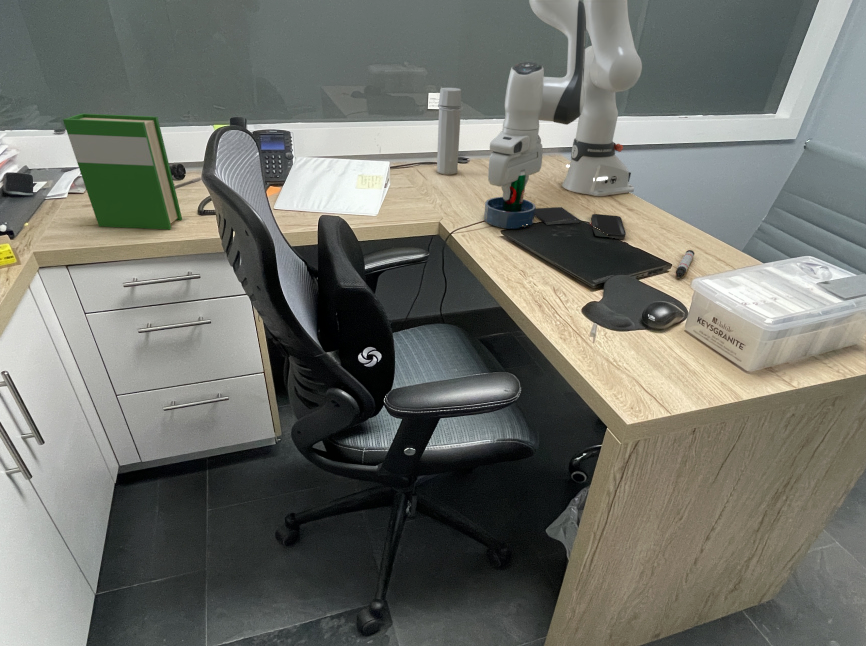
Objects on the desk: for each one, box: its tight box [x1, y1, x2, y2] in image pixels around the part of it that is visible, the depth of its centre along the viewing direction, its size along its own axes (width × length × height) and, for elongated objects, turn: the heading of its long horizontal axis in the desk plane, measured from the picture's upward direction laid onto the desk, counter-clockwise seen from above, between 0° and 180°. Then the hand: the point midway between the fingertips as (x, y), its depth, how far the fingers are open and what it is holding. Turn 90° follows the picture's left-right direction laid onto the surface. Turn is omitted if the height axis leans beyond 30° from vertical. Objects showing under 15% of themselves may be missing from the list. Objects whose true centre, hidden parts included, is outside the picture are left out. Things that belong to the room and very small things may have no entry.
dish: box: [483, 196, 537, 230], centre depth 144 cm, size 13×13×4 cm
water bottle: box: [436, 87, 464, 176], centre depth 174 cm, size 9×8×25 cm
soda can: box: [503, 170, 526, 212], centre depth 141 cm, size 5×5×12 cm
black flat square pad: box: [534, 206, 581, 224], centre depth 149 cm, size 10×12×1 cm
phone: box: [590, 213, 627, 240], centre depth 142 cm, size 8×1×15 cm
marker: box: [675, 249, 695, 278], centre depth 122 cm, size 15×2×2 cm, turn 150°
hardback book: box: [62, 112, 183, 230], centre depth 129 cm, size 18×7×24 cm, turn 88°
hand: (513, 196), depth 141 cm, fingers closed on soda can, 5 cm apart
